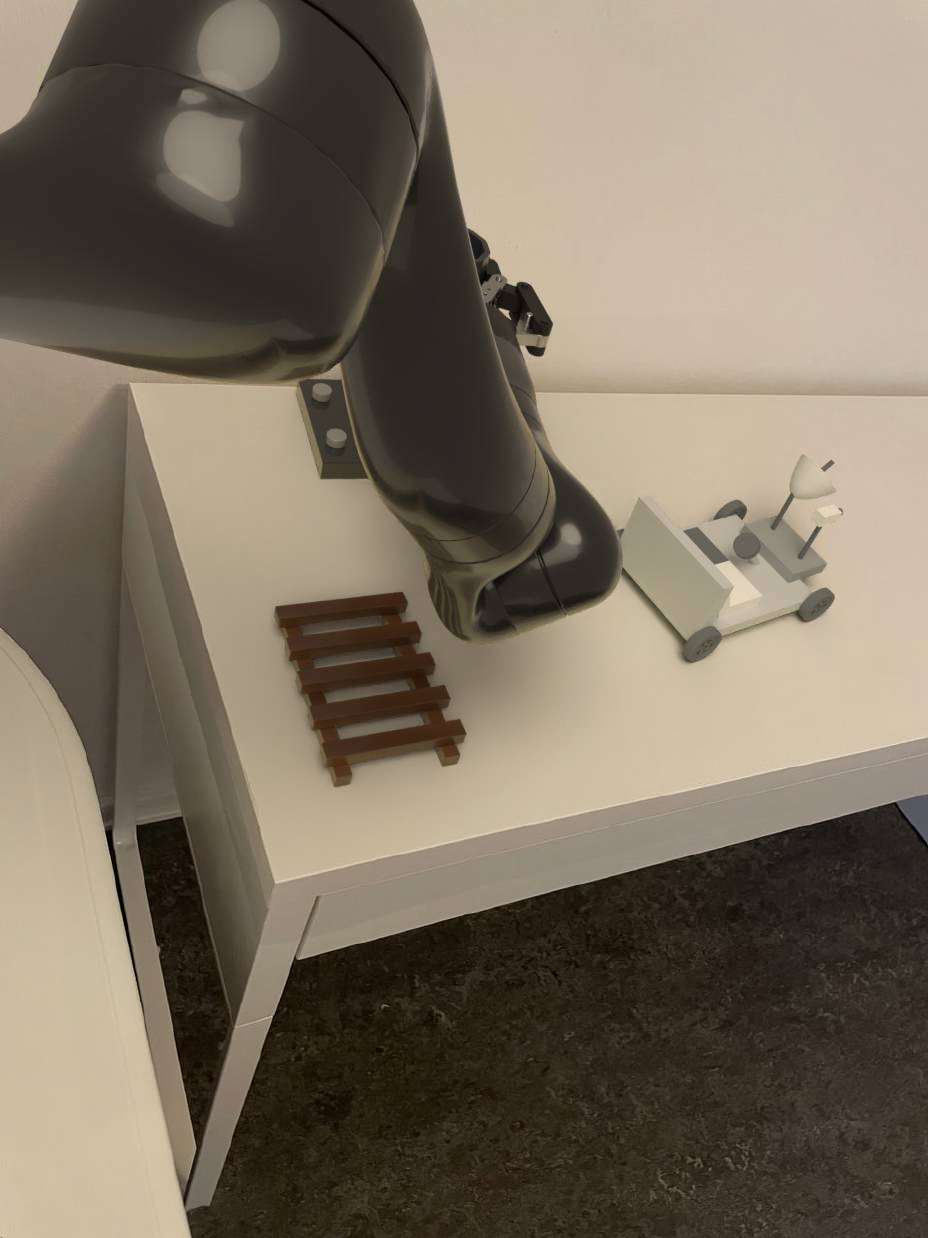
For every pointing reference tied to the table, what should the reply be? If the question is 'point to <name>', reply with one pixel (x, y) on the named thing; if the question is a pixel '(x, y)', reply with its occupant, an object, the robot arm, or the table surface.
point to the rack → (367, 682)
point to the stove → (329, 428)
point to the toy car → (729, 564)
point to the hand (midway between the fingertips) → (434, 256)
